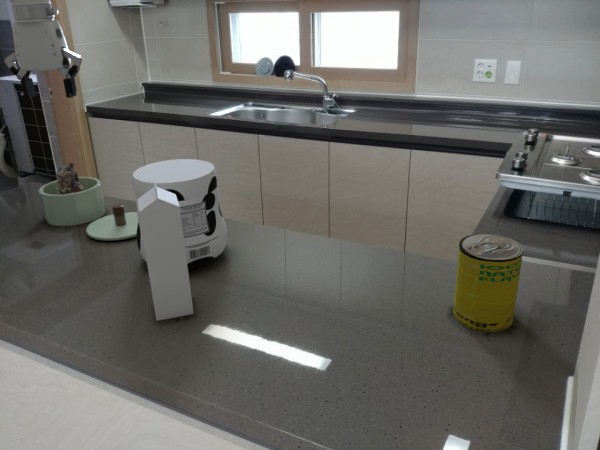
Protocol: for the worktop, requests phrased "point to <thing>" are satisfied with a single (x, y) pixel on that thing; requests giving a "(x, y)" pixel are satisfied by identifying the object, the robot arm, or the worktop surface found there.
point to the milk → (165, 253)
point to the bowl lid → (114, 225)
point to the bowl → (73, 203)
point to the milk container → (188, 205)
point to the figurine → (68, 180)
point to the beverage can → (487, 281)
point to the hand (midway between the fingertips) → (51, 97)
